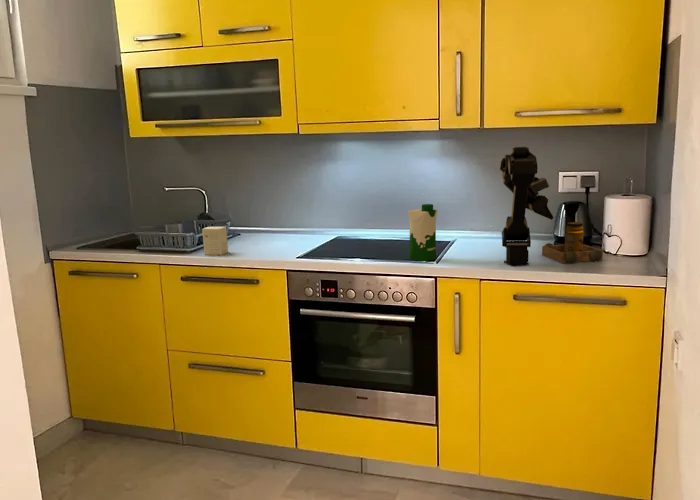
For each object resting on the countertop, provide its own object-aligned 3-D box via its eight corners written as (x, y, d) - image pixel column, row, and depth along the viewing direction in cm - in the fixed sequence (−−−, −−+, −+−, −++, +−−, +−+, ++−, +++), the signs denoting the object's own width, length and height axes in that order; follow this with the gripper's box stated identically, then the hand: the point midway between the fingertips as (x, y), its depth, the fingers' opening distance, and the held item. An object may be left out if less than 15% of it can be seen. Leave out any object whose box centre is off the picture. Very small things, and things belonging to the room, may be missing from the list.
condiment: (588, 257, 217) (589, 223, 214) (569, 260, 214) (570, 225, 211) (573, 253, 223) (574, 220, 221) (554, 256, 220) (555, 222, 218)
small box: (228, 252, 250) (226, 226, 247) (222, 255, 244) (220, 228, 242) (210, 251, 252) (208, 226, 250) (203, 254, 246) (201, 228, 244)
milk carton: (427, 263, 218) (426, 206, 214) (405, 260, 223) (404, 205, 219) (440, 258, 224) (439, 203, 220) (418, 256, 230) (418, 202, 226)
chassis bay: (563, 264, 210) (563, 252, 209) (540, 254, 225) (540, 243, 225) (604, 260, 212) (604, 249, 211) (578, 251, 228) (579, 241, 227)
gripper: (542, 172, 211) (574, 203, 213) (527, 168, 229) (556, 197, 232) (519, 196, 213) (550, 227, 215) (505, 190, 231) (534, 218, 233)
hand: (548, 216), depth 224 cm, fingers open, 9 cm apart
